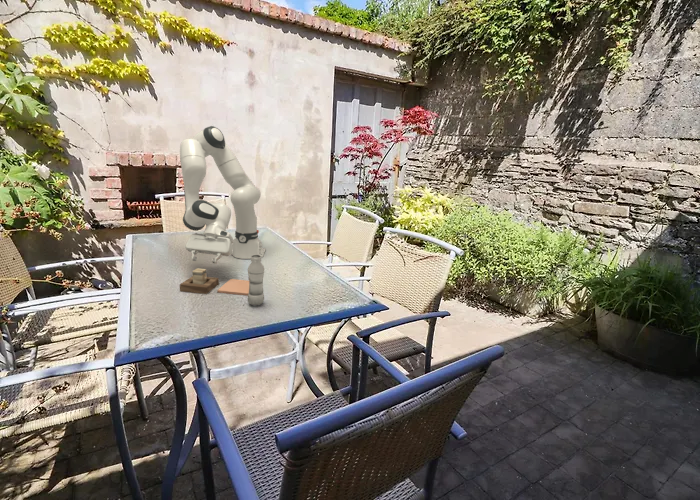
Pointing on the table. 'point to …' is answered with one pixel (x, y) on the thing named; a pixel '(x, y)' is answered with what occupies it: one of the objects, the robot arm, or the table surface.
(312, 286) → the table surface
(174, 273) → the table surface
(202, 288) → the walnut collar holder
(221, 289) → the terracotta tile
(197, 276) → the block
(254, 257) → the plastic bottle
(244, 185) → the robot arm
